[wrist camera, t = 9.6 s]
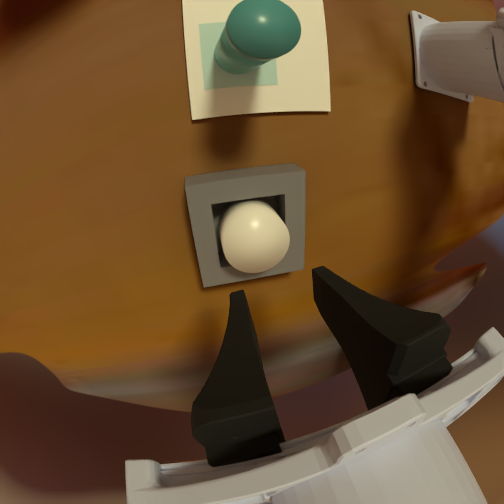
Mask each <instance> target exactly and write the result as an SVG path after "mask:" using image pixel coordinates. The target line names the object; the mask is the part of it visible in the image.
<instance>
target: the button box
mask: <svg viewBox="0 0 504 504" xmlns="http://www.w3.org/2000/svg"><path fill="white" fill-rule="evenodd" d="M185 191H186V197H187V203H188V209H189V215H190V220H191V226H192V231H193V237H194V242H195V247H196V252H197V257H198V262H199V267H200V272H201V277H202V282H203V286H204V287H210V286H216V285H221V284H227V283H233V282H238V281H244V280H249V279H255V278H260V277H265V276H271V275H276V274H281V273H287V272H292V271H297V270H302V269H304V249H305V170H303V169H302V168H300V167H299V166H297V165H295V164H294V163H289V164H278V165H268V166H259V167H250V168H242V169H234V170H227V171H219V172H213V173H206V174H200V175H193V176H187V177H185ZM251 198H260V199H262V200H264V201H266V202H267V203H269V204H270V205H271V206H272V208H273V209H274V210H275V212H276V213H277V214H278V216H279V217H280V218H281V220H282V221H283V222H284V224H285V225H286V227H287V229H288V231H289V235H290V243H289V247H288V250H287V252H286V254H285V256H284V257H283V259H282V260H281V261H280V262H279V263H278V264H277V265H275V266H274V267H272V268H270V269H268V270H266V271H263V272H259V273H246V272H242V271H239V270H237V269H236V268H234V267H233V266H232V265H231V264H230V263H229V262H228V261H227V259H226V257H225V255H224V251H223V247H222V243H221V239H220V235H219V230H218V222H219V218H220V216H221V214H222V212H223V211H224V209H225V208H226V207H227V206H228V205H229V204H230V203H232V202H233V201H237V200H243V199H251Z"/></svg>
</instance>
